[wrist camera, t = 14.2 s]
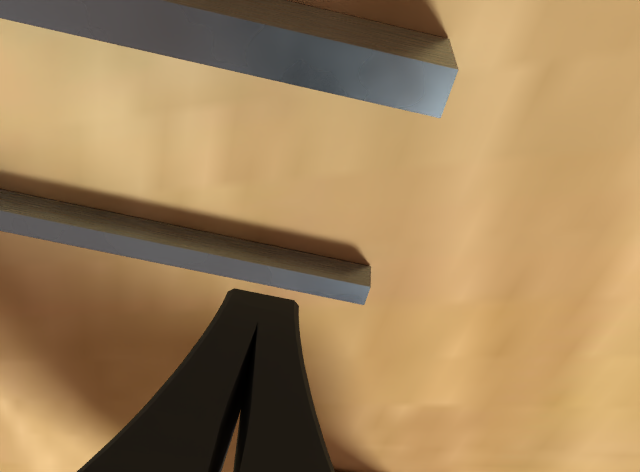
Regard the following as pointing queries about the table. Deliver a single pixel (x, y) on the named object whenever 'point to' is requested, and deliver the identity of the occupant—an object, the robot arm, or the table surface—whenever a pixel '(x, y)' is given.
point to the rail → (253, 59)
